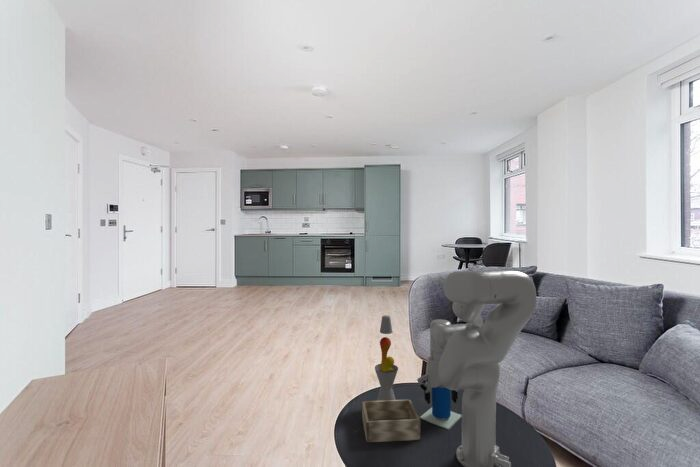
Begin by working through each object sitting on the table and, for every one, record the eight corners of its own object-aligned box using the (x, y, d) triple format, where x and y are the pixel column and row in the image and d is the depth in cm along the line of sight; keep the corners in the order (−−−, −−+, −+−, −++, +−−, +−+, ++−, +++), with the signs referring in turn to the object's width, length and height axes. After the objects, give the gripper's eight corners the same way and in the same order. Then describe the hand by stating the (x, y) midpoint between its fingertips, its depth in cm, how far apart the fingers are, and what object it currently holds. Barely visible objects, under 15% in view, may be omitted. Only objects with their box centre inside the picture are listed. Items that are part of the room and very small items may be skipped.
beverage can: (448, 411, 129) (448, 379, 129) (452, 421, 123) (452, 387, 122) (431, 411, 130) (430, 379, 129) (433, 420, 123) (433, 387, 123)
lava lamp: (381, 414, 128) (381, 320, 128) (370, 403, 137) (370, 314, 136) (402, 409, 132) (402, 317, 131) (390, 398, 140) (390, 312, 140)
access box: (410, 417, 127) (410, 399, 126) (420, 439, 113) (420, 419, 113) (362, 419, 125) (362, 401, 125) (366, 442, 112) (366, 422, 112)
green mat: (461, 416, 127) (461, 415, 127) (448, 429, 118) (448, 428, 118) (434, 406, 134) (434, 405, 134) (419, 418, 126) (419, 417, 126)
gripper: (460, 350, 130) (460, 395, 130) (414, 351, 129) (414, 397, 129) (468, 357, 123) (468, 405, 123) (420, 359, 121) (420, 407, 122)
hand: (440, 401), depth 126 cm, fingers open, 9 cm apart
